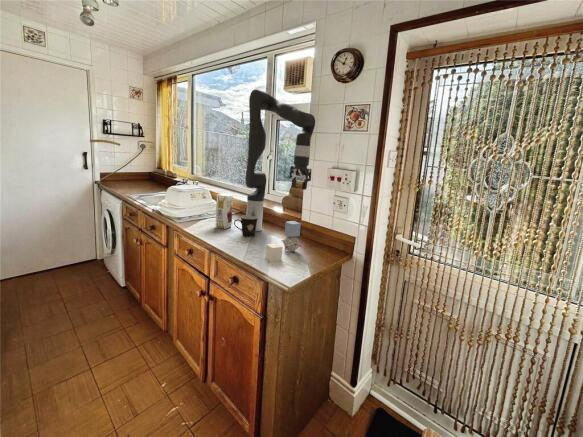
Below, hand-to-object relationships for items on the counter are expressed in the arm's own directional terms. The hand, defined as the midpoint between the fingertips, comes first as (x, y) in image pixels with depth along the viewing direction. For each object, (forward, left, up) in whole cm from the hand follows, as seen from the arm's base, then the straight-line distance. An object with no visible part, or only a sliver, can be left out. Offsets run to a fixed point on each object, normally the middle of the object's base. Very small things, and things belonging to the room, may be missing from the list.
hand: (298, 188), depth 150 cm
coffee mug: (-19, -18, -28) cm, 39 cm away
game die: (+12, -11, -28) cm, 33 cm away
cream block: (+17, -24, -28) cm, 41 cm away
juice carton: (-38, -22, -28) cm, 52 cm away
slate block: (+12, -11, -20) cm, 26 cm away
